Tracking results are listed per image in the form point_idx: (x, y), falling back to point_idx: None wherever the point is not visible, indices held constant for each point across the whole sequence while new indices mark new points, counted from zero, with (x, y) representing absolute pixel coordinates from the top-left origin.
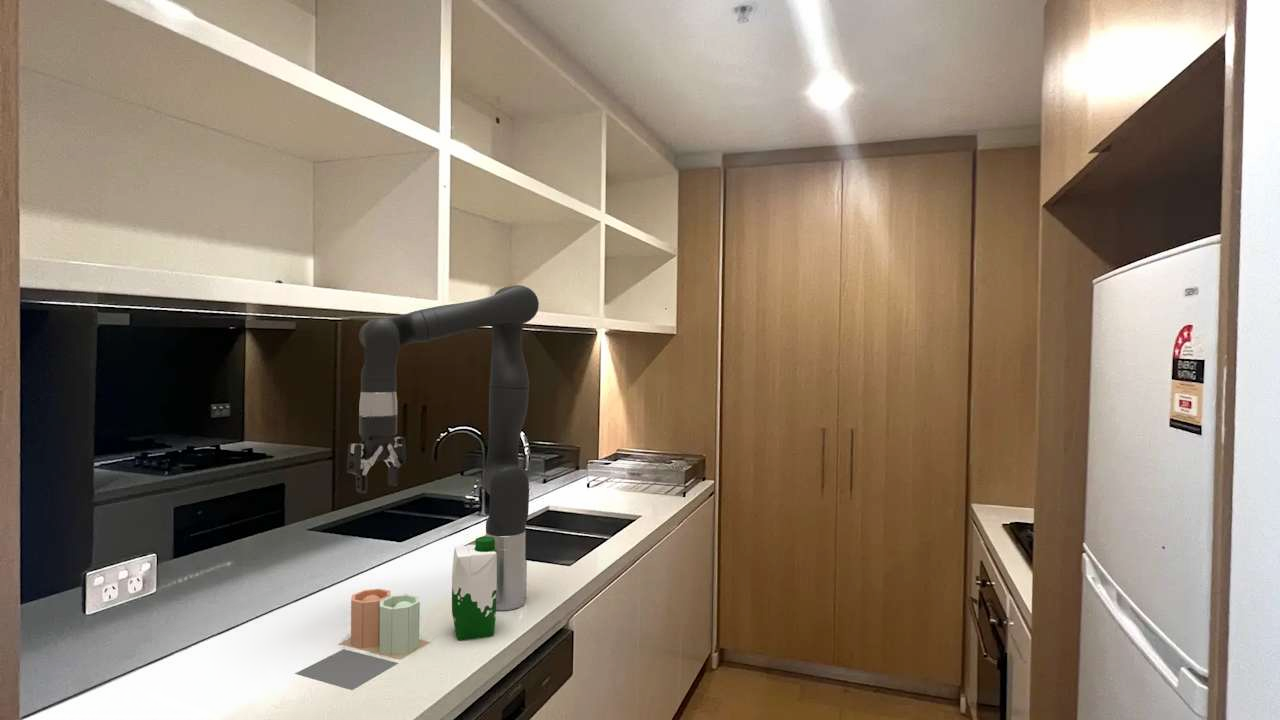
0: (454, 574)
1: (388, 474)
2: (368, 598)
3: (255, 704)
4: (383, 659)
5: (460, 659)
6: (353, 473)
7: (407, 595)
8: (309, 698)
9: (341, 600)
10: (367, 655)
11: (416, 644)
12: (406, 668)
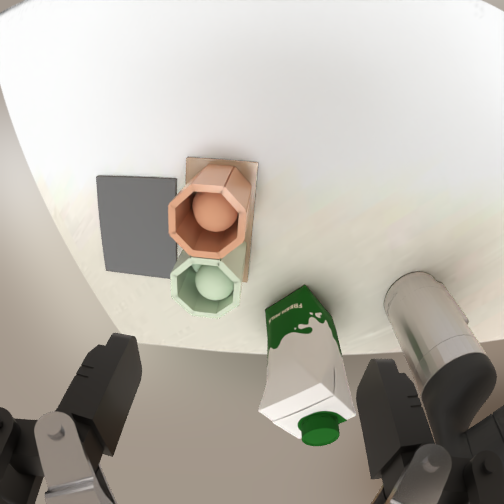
0: (269, 373)
1: (388, 413)
2: (202, 217)
3: (47, 190)
4: (175, 256)
5: (226, 330)
6: (24, 427)
7: (235, 285)
8: (79, 233)
9: (360, 18)
10: None
11: None
12: None
